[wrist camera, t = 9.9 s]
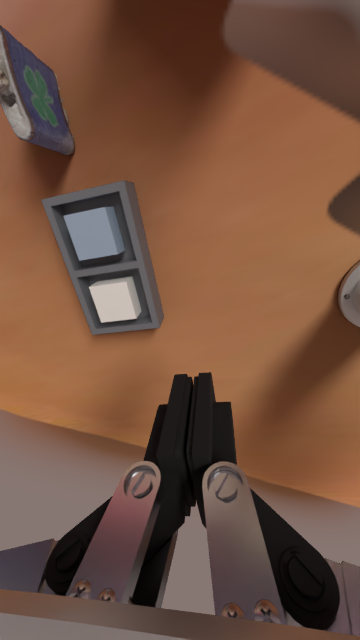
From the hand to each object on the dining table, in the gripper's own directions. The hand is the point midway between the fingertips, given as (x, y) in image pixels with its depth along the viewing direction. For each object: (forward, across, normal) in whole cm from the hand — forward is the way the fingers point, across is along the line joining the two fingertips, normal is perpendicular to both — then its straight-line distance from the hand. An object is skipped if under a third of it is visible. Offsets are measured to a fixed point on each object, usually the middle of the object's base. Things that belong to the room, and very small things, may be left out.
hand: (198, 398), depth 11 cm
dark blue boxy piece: (+29, +17, -22) cm, 40 cm away
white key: (+27, +15, +3) cm, 31 cm away
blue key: (+27, +15, -7) cm, 32 cm away
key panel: (+29, +15, -2) cm, 33 cm away
